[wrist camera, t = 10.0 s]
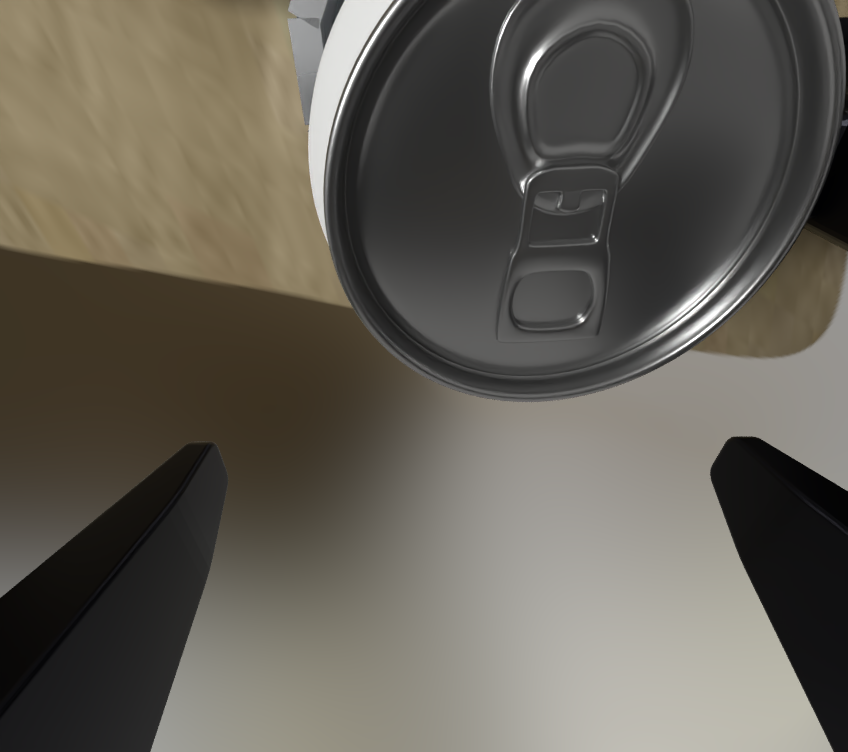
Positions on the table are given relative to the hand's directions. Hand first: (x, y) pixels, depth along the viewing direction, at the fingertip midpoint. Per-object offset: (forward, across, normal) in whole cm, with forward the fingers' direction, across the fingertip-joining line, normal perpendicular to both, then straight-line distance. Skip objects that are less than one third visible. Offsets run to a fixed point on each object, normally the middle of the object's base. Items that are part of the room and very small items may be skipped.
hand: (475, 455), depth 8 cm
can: (+12, -1, -5) cm, 13 cm away
